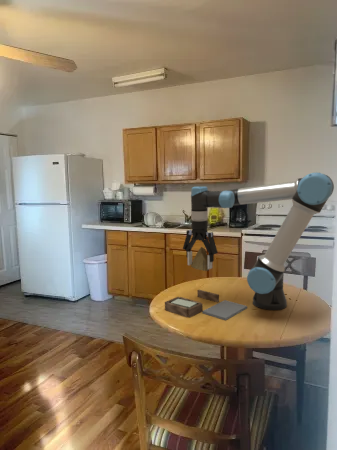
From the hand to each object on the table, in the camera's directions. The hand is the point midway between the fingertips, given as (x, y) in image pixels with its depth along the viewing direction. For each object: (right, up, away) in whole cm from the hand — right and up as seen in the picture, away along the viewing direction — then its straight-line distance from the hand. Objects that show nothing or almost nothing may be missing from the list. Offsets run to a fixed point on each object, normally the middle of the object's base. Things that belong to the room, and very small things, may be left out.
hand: (199, 266), depth 158 cm
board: (+11, -19, -7) cm, 23 cm away
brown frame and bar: (-3, -18, -1) cm, 19 cm away
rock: (0, -1, 0) cm, 1 cm away
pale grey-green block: (-7, -19, -7) cm, 22 cm away
